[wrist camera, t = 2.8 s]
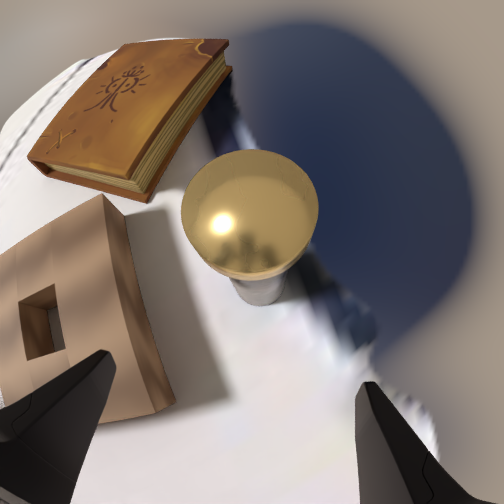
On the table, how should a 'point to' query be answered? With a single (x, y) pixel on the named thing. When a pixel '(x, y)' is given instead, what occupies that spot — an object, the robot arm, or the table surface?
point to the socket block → (79, 310)
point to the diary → (131, 116)
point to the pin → (251, 219)
